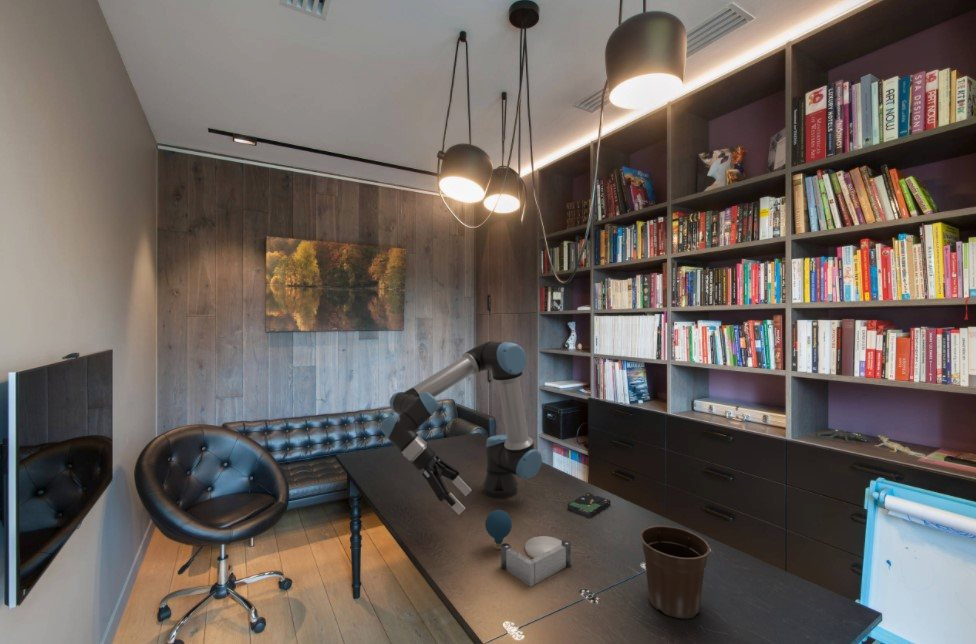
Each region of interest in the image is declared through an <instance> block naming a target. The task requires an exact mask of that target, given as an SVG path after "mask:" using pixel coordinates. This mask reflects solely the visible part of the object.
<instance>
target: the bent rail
mask: <svg viewBox="0 0 976 644" xmlns="http://www.w3.org/2000/svg"><path fill="white" fill-rule="evenodd" d="M561 541H562V544H561V545H559V546H557V547H555V548H553V549H551V550H549V551H547V552H546V553H544V554H542V555H540V556H538V557H536V558H534V559H533V558H531V559H529V558H527V557H526V556H525V555H523V554H521V553H520V552H518V551H516V550H514V549H513V548H511V545H510V543H506V542H505V543H503V542H502V544H501V548H500V569H502V570H503V571H507V572H508V573H509V574H511V575H512V576H514V577H515V578H517V579H518V580H519V581H521V582H523V583H524V584H525V585H527V586H528V587H530V588H531V587H533V586H535V585H536V584H538V583H540V582H542V581H544V580H546V579H547V578H548V577H550V576H552V575H555V574H556V573H558V572H559V571H560V570H563V569H565V568H569V567H571V566H572V542H571V541H570V540H568V539H566V540H565V539H564V540H561Z"/></svg>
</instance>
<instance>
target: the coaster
mask: <svg viewBox="0 0 976 644" xmlns="http://www.w3.org/2000/svg"><path fill="white" fill-rule="evenodd" d="M562 541H563V540H560V539H558V538H556V537H553V536H546V535H541V536H540V535H539V536H534V537H532V538H530V539H529V538H528V540H527V541H526V542H525V543H524V550H525V553H526V555H528V556H529V557H530V558H531V559H534V558H536V557H538V556H540V555H542V554H544V553H546V552H547V551H549V550H551V549H553V548H555V547H557V546H559V545H561V544H562Z"/></svg>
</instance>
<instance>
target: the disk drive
mask: <svg viewBox="0 0 976 644" xmlns="http://www.w3.org/2000/svg"><path fill="white" fill-rule="evenodd" d="M610 507H611V500H610V499H608V498H604V497H602V496H600V495H596V496H595V495H594V494H593V493H590V492H587V493H585V494H583V495H581V496H580V497H577V498H576V499H574V500H572V501H570V502H569V503H567V510H568V511H570V512H573V513H574V514H575V513H576V514H579V515H581V516H584V517H586V518H588V519H592V518H593V517H595V516H596V515H598V514H599V513H601V512H602V511H604V510H607V508H610Z"/></svg>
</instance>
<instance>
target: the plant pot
mask: <svg viewBox="0 0 976 644" xmlns="http://www.w3.org/2000/svg"><path fill="white" fill-rule="evenodd" d="M639 535H640V541H641V542H642V550H643V555H644V560H645V571H646V583H647V597H648V601H649V603H650V604H651V606H653V608H654V609H656V610H657V611H658V610H659V611H661V612H662V613H663V614H665V616H668V617H671V618H676V619H683V620H684V619H687V620H688V619H693V618H695V617H696V615H697V614H699V613H700V610H701V602H702V601H701V600H702V591H703V582H704V575H705V574H704V573H705V569H706V566H707V561H708V557H709V555H710V552H711V547H710V544H709V543H708V542H707V541H706V540H705V539H704V538H702V537H701V536H699V535H698V534H696V533H694V532H692V531H690V530H686V529H684V528H680V527H676V526H670V525H653V526H649V527H646V528H644V529H642V531H641V532H640V534H639Z"/></svg>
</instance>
